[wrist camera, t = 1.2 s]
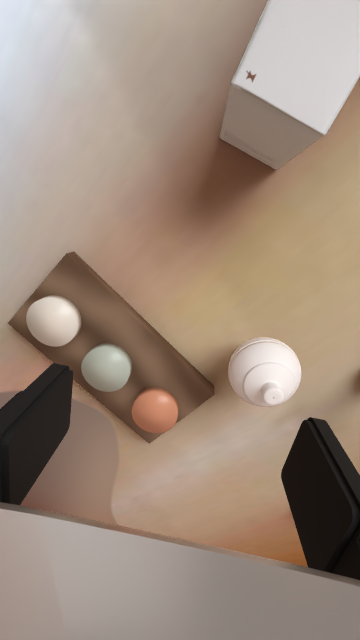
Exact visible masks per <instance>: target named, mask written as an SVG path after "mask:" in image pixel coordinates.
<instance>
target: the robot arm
mask: <svg viewBox="0 0 360 640" xmlns="http://www.w3.org/2000/svg"><path fill="white" fill-rule="evenodd" d="M72 384H73V371H72V370H70V368H69V366H67V365H62V364H58V363H53V364H52V365H51V366H50V367H49V368H47V369H46V370H45V371H44V372H43V373H42V374H41V375H40V376H39V377H38V378H37V379H36V380H35V381H34V382H33V383H31V384H30V385H29V386H28V387H27V388H26V389H25V390H24V391H21V392H19V393H17V394H16V395H15V396H14V397H13V398H12V399H11V400H10V401H9V402H7V403H6V404H5V405H4V406H3V407H2V408H1V409H0V640H360V475H359V474H358V472H357V470H356V469H355V467H354V465H353V464H352V462H351V461H350V459H349V457H348V456H347V454H346V452H345V451H344V449H343V448H342V446H341V444H340V443H339V441H338V439H337V438H336V436H335V435H334V433H333V431H332V430H331V428H330V426H329V425H328V423H327V422H326V421H325V420H321V419H316V418H311V417H310V418H308V419H307V420H304V421H303V422H302V424H301V426H300V429H299V431H298V433H297V436H296V438H295V440H294V443H293V445H292V448H291V450H290V452H289V455H288V457H287V459H286V462H285V464H284V466H283V469H282V473H281V478H282V482H283V485H284V489H285V492H286V495H287V499H288V502H289V505H290V509H291V512H292V515H293V518H294V522H295V525H296V528H297V532H298V535H299V538H300V542H301V545H302V548H303V551H304V555H305V558H306V561H307V565H308V567H304V566H300V565H295V564H291V563H286V562H282V561H278V560H273V559H269V558H264V557H260V556H255V555H251V554H246V553H242V552H238V551H233V550H229V549H224V548H220V547H215V546H211V545H206V544H201V543H197V542H192V541H188V540H183V539H179V538H174V537H169V536H165V535H160V534H156V533H151V532H146V531H142V530H137V529H133V528H128V527H123V526H118V525H114V524H109V523H104V522H100V521H95V520H90V519H85V518H80V517H75V516H71V515H67V514H62V513H56V512H51V511H46V510H41V509H36V508H30V507H26V506H20V504H21V503H22V501H23V499H24V498H25V496H26V495H27V493H28V492H29V490H30V489H31V487H32V486H33V484H34V483H35V481H36V479H37V478H38V476H39V475H40V473H41V472H42V470H43V469H44V467H45V466H46V464H47V462H48V461H49V459H50V458H51V456H52V455H53V453H54V452H55V450H56V449H57V447H58V445H59V444H60V443H61V441H62V439H63V438H64V436H65V435H66V433H67V431H68V429H69V424H70V412H71V398H72Z"/></svg>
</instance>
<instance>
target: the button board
mask: <svg viewBox="0 0 360 640" xmlns="http://www.w3.org/2000/svg"><path fill="white" fill-rule="evenodd" d="M51 295H56V296H61V297H64V298H66V299H68V300H69V301H71V302H72V303H73V304H74V305H75V306H76V308H77V309H78V311H79V313H80V316H81V329H80V331H79V333H78V334H77V335H76V336H75V337H74V338H73V339H72V340H71V341H70V342H69V343H67V344H65V345H63V346H58V347H53V346H48V345H45V344H43V343H41V342H40V341H38V340H37V339H36V338H35V337H34V336H33V335H32V334H31V332H30V330H29V328H28V326H27V322H26V315H27V311H28V309H29V307H30V306H31V305H32V304H33V303H34V302H36V301H38V300H40V299H42V298H44V297H46V296H51ZM8 324H9V325H11V326H12V327H13V328H14V329H15V330H16V331H18V332H19V333H20V334H21V335H22V336H23V337H25V338H26V339H27V340H28V341H29V342H30V343H32V344H33V345H34V346H35V347H36V348H38V349H39V350H40V351H41V352H42V353H43V354H45V355H46V356H47V357H48V358H49V359H50V360H52V361H53V362H54V363H58V364H62V365H67V366H69V368H70V370H72V371H73V379H74V380H75V381H76V382H78V383H79V384H80V385H81V386H82V387H83V388H85V389H86V390H87V391H88V392H89V393H90V394H92V395H93V396H94V397H95V398H96V399H98V400H99V401H100V402H101V403H102V404H103V405H105V406H106V407H107V408H108V409H109V410H110V411H112V412H113V413H114V414H115V415H116V416H118V417H119V418H120V419H121V420H122V421H123V422H125V423H126V424H127V425H128V426H129V427H130V428H132V429H133V430H134V431H135V432H136V433H138V434H139V435H140V436H141V437H142V438H143V439H145V440H146V441H147V442H148V443H151V442H152V441H153V440H155V439H156V438H157V437H159V436H160V435H161V434H163V433H164V432H163V433H151V432H147V431H145V430H143V429H141V428H140V427H139V426H138V425H137V424H136V423H135V422H134V420H133V418H132V407H133V404H134V402H135V399H136V397H137V395H138V394H139V393H140V392H141V391H143V390H145V389H147V388H153V387H157V388H162V389H165V390H167V391H169V392H170V393H171V394H173V396H174V397H175V398H176V400H177V402H178V406H179V409H178V417H177V421H176V423H177V422H178V421H180V420H181V419H182V418H184V417H185V416H186V415H188V414H189V413H190V412H192V411H193V410H194V409H196V408H197V407H198V406H200V405H201V404H202V403H204V402H205V401H206V400H208V399H209V398H210V397H212V396H213V395H214V386H213V385H212V384H211V383H210V382H209V381H208V380H207V379H206V378H205V377H204V376H203V375H202V374H201V373H200V372H199V371H198V370H197V369H196V368H195V367H193V366H192V365H191V364H190V363H189V362H188V361H187V360H186V359H185V358H184V357H183V356H182V355H181V354H180V353H179V352H178V351H177V350H176V349H175V348H174V347H173V346H172V345H171V344H170V343H169V342H167V341H166V340H165V339H164V338H163V337H162V336H161V335H160V334H159V333H158V332H157V331H156V330H155V329H154V328H153V327H152V326H151V325H150V324H149V323H148V322H147V321H146V320H145V319H144V318H143V317H141V316H140V315H139V314H138V313H137V312H136V311H135V310H134V309H133V308H132V307H131V306H130V305H129V304H128V303H127V302H126V301H125V300H124V299H123V298H122V297H121V296H120V295H119V294H118V293H116V292H115V291H114V290H113V289H112V288H111V287H110V286H109V285H108V284H107V283H106V282H105V281H104V280H103V279H102V278H101V277H100V276H99V275H98V274H97V273H96V272H95V271H94V270H93V269H92V268H90V267H89V266H88V265H87V264H86V263H85V262H84V261H83V260H82V259H81V258H80V257H79V256H78V255H77V254H76V253H75V252H71V253H67V254H66V255H65V256H64V257H63V258H62V260H61V261H60V262H59V263H58V264H57V266H56V267H55V268H54V269H53V270H52V272H51V273H50V274H49V275H48V276H47V277H46V279H45V280H44V281H43V282H42V283H41V285H40V286H39V287H38V288H37V289H36V291H35V292H34V293H33V294H32V295H31V296H30V298H29V299H28V300H27V301H26V302H25V304H24V305H23V306H22V307H21V308H20V310H19V311H18V312H17V313H16V314H15V315H14V317H13V318H12V319H11V320H10V321H9V323H8ZM105 343H108V344H114V345H116V346H119V347H120V348H122V349H123V350H124V351H125V352H126V353H127V354H128V355H129V357H130V359H131V362H132V372H131V374H130V376H129V378H128V381H127V382H126V384H125V385H124V386H123V387H122V388H121V389H119V390H116V391H112V392H104V391H100V390H97V389H95V388H94V387H92V386H91V385H90V384H89V383H88V382H87V381H86V380H85V378H84V376H83V374H82V370H81V365H82V361H83V359H84V357H85V356H86V355H87V354H88V353H89V351H90V350H91V349H92V348H94V347H95V346H97V345H99V344H105ZM176 423H175V424H176Z"/></svg>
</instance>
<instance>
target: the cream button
mask: <svg viewBox="0 0 360 640" xmlns="http://www.w3.org/2000/svg"><path fill="white" fill-rule="evenodd" d="M26 322H27V326H28V328H29V330H30V332H31V334H32V335H33V336H34V337H35V338H36V339H37V340H38V341H40V342H41V343H43V344H45V345H48V346H53V347H58V346H63V345H65V344H67V343H69V342H70V341H71V340H72V339H73V338H74V337H75V336H76V335H77V334H78V333H79V331H80V329H81V316H80V313H79V311H78V309H77V308H76V306H75V305H74V304H73V303H72V302H71V301H69V300H68V299H66V298H64V297H61V296H56V295H51V296H46V297H44V298H42V299H40V300H38V301H36V302H34V303H33V304H32V305H31V306H30V307H29V309H28V311H27V315H26Z"/></svg>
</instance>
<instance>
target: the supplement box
mask: <svg viewBox="0 0 360 640" xmlns="http://www.w3.org/2000/svg"><path fill="white" fill-rule="evenodd" d="M359 77H360V0H268V2H267V4H266V6H265V8H264V10H263V13H262V15H261V17H260V19H259V21H258V23H257V25H256V28H255V30H254V33H253V35H252V37H251V40H250V42H249V44H248V46H247V49H246V51H245V53H244V55H243V57H242V60H241V62H240V64H239V66H238V68H237V71H236V73H235V75H234V77H233V79H232V81H231V85H230V89H229V94H228V99H227V104H226V108H225V113H224V118H223V122H222V127H221V132H220V136H219V138H220V139H222V140H224V141H226V142H227V143H229V144H231V145H233V146H234V147H236V148H238V149H240V150H241V151H243V152H245V153H247V154H249V155H250V156H252V157H254V158H256V159H258V160H259V161H261V162H263V163H265V164H266V165H268V166H270V167H272V168H274V169H275V170H277V169H279V168H280V167H282V166H283V165H284V164H286V163H287V162H288V161H290V160H291V159H293V158H294V157H295V156H297V155H298V154H299V153H301V152H302V151H303V150H305V149H306V148H308V147H309V146H310V145H312V144H313V143H315V142H316V141H317V140H319V139H320V138H321V137H323V136H325V135H326V133H327V131H328V130H329V128H330V127H331V125H332V123H333V122H334V120H335V118H336V117H337V115H338V113H339V112H340V110H341V108H342V106H343V105H344V103H345V101H346V99H347V98H348V96H349V94H350V93H351V91H352V89H353V87H354V86H355V84H356V82H357V81H358V79H359Z"/></svg>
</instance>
